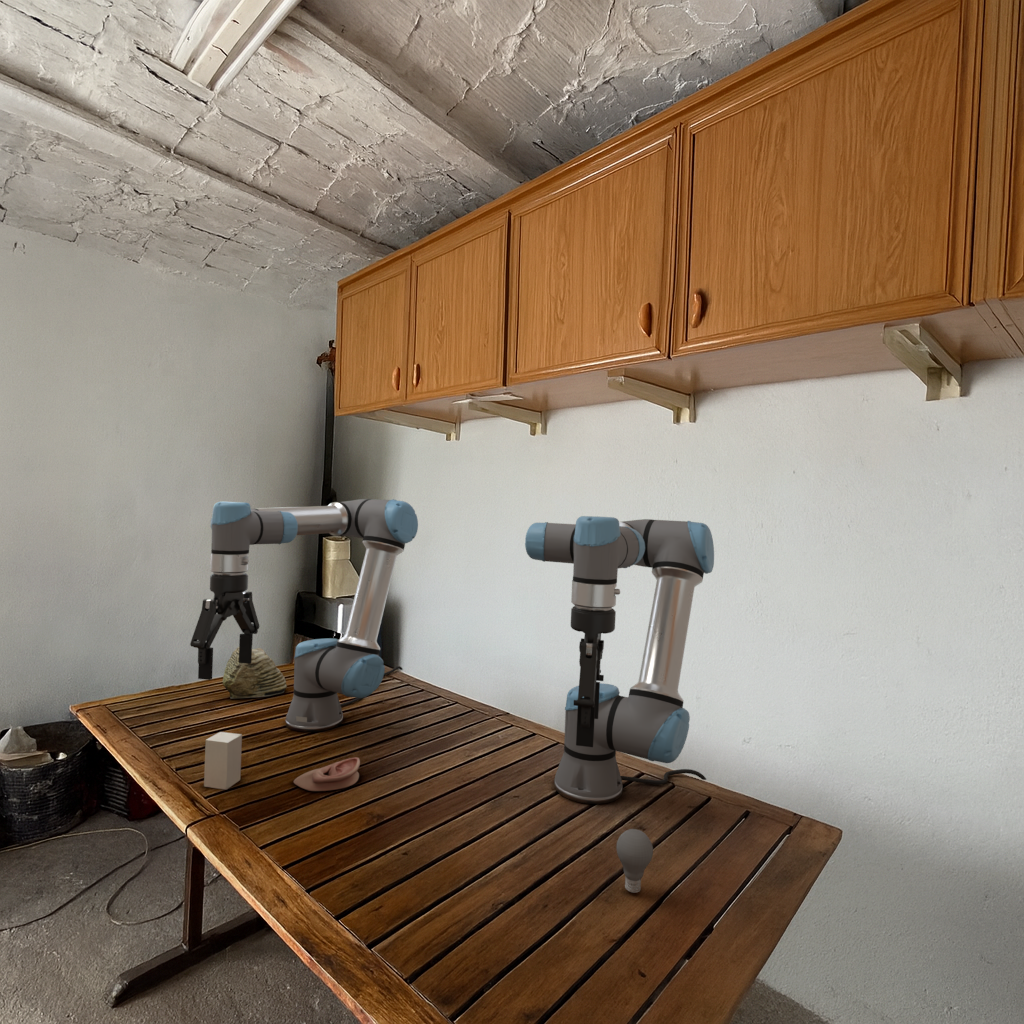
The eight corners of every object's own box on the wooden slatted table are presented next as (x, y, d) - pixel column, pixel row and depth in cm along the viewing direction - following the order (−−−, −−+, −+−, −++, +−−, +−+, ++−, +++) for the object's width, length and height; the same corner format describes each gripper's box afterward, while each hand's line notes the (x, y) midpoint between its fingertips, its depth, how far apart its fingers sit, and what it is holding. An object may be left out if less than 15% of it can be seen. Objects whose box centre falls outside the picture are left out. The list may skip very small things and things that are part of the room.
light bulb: (610, 879, 108) (613, 822, 108) (644, 879, 109) (647, 822, 109) (619, 902, 102) (622, 840, 102) (655, 901, 103) (658, 840, 103)
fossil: (218, 695, 195) (220, 647, 195) (278, 685, 208) (279, 640, 207) (228, 703, 189) (230, 653, 188) (289, 692, 201) (290, 645, 201)
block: (203, 786, 136) (205, 739, 136) (218, 776, 141) (220, 731, 141) (226, 789, 135) (227, 742, 135) (240, 779, 140) (242, 734, 140)
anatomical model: (286, 769, 137) (313, 749, 148) (285, 787, 137) (312, 766, 148) (343, 777, 134) (366, 756, 145) (342, 796, 134) (365, 773, 145)
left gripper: (206, 580, 124) (202, 688, 124) (277, 568, 149) (273, 658, 149) (172, 578, 126) (169, 684, 126) (248, 566, 150) (245, 655, 150)
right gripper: (613, 621, 95) (606, 762, 95) (617, 598, 119) (612, 709, 120) (563, 617, 96) (557, 756, 97) (578, 595, 121) (572, 705, 121)
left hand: (226, 670), depth 137 cm, fingers open, 13 cm apart
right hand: (587, 731), depth 108 cm, fingers open, 13 cm apart
